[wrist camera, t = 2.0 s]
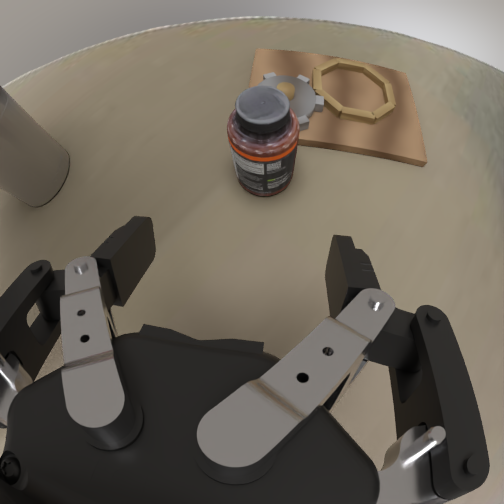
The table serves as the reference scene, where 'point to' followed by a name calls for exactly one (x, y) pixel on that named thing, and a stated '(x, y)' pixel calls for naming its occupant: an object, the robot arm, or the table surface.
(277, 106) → the supplement bottle
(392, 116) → the board
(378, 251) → the table surface
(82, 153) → the table surface
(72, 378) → the robot arm
